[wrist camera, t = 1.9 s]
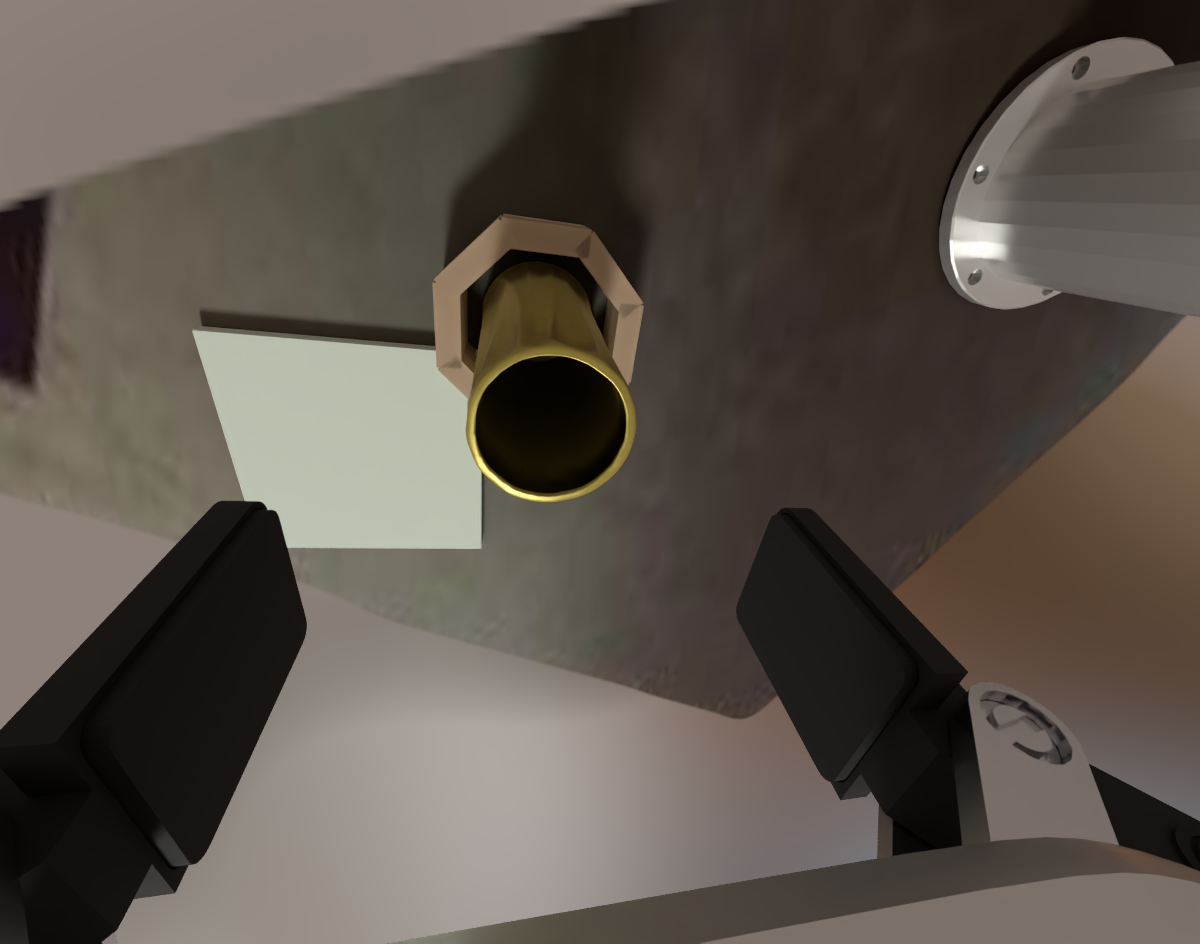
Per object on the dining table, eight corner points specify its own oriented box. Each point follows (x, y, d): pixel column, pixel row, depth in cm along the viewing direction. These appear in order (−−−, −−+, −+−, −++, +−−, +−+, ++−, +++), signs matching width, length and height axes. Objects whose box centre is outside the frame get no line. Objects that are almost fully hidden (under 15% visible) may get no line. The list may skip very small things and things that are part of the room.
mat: (482, 350, 26) (481, 354, 26) (481, 541, 33) (481, 548, 33) (201, 326, 24) (192, 330, 23) (265, 539, 31) (259, 547, 30)
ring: (638, 233, 24) (655, 238, 21) (611, 407, 29) (621, 432, 26) (440, 204, 22) (429, 206, 19) (447, 397, 27) (439, 421, 24)
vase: (497, 380, 27) (478, 529, 15) (468, 269, 24) (417, 349, 12) (597, 363, 28) (657, 495, 16) (583, 252, 24) (644, 311, 12)
